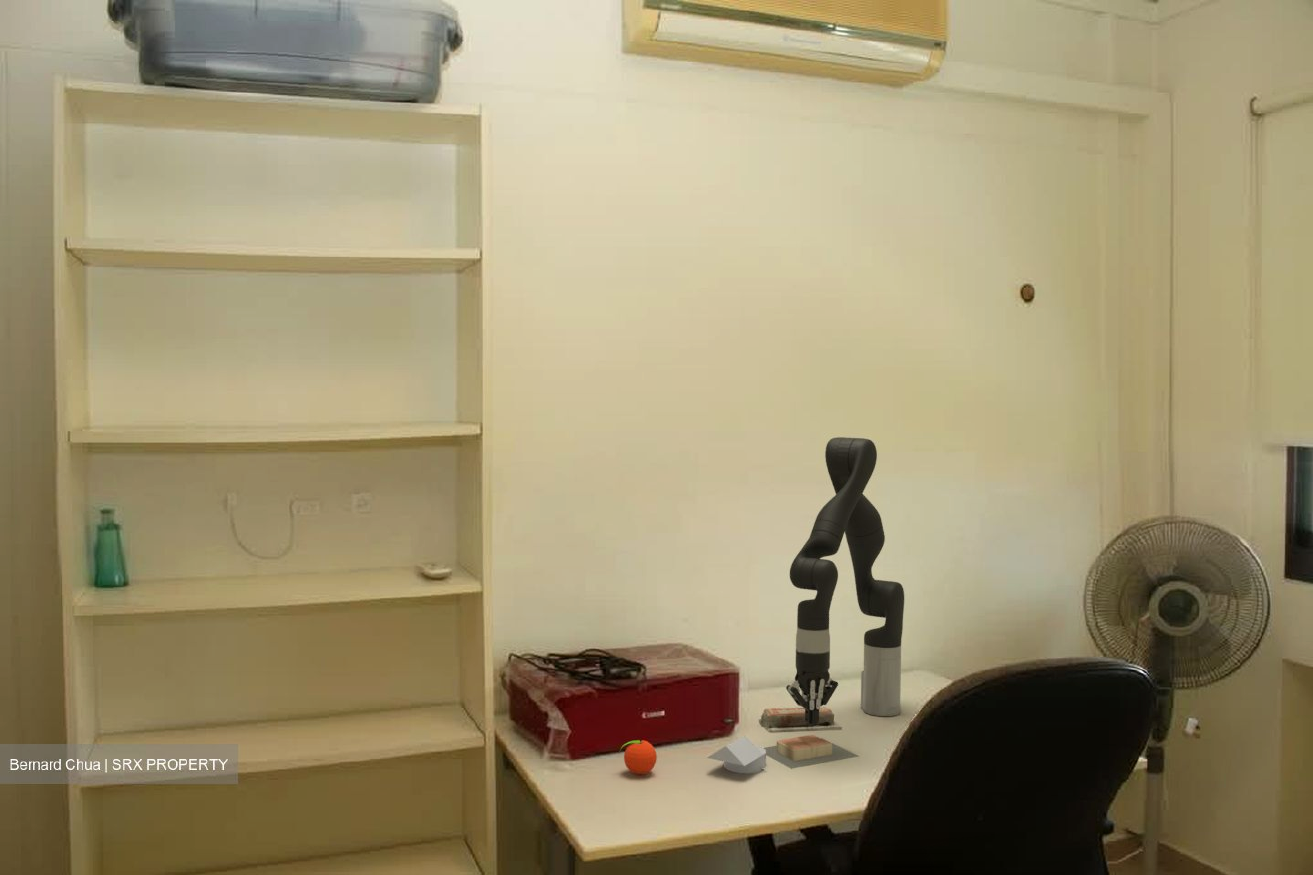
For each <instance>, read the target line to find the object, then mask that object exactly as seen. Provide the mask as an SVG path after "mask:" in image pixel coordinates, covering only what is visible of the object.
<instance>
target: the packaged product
mask: <svg viewBox="0 0 1313 875" xmlns="http://www.w3.org/2000/svg"><path fill="white" fill-rule="evenodd" d="M760 717H761V718H760V719H758V721H759V724H760V725H761V727H762V726H763V727H762V728H765V730H766V732H768V733H790V732H791V733H792V732H793V733H795V732H819V731H841V730H842V728H843V726H841V725H840V724H839V723H837V722H836V721H835V713H834V712H833V710H832V709H831V708H826V707H820V709H819V722H818V723H817V725H816V726H809V725H807V723H806V722H805V708H803V707H781V708H779V707H778V708H776V707H775V708H764V709H763V712H762V714H761V716H760Z"/></svg>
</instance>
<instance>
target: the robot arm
mask: <svg viewBox="0 0 1313 875" xmlns="http://www.w3.org/2000/svg"><path fill="white" fill-rule="evenodd" d="M877 452H878V451H877V448H876V444H875V443H874V442H873V440H871V439H869V438H864V437H863V438H861V437H845V436H844V437H839V436H838V437H833V438H830V440H829V441H828V442H827V443H826V446H825V452H824V453H825V456H824V457H825V463H826V464H825V465H826V468H827V473H828V475H829V479H830V481H831V483H832V487H833V489H834V492H835V495H834V496H832V498H830V499H829V501H827V503H825V504H824V506H823V507H822V508H821V509H820V511H819V512H818V514H817V515H816V517H815V521H814V523H813V526H812V530H811V532H810V534H809V538H807V541H806V542H805V543H804V545H803V546H802V548H801V549H800V550H799V551H798V553H797V554H796V556H795V557H794V559H793V561H792V563H791V565H790V568H789V579H790V583H792V585H793V586H794V587H795V588H797V589H802V590H809V591H816V595H815V597H814V598H813V599H812V598H811V599H805V600H801V601H800V602H798V605H797V615H796V617H797V618H796V619H797V620H796V622H797V623H796V624H797V625H796V635H795V670H796V674H795V677H794V681H793V682H792V683H791V685H790V684H787V685H786V687H785V688H786V689H785V690H786V691H787V692H788V694H789V695H790V696H791V698H792V699H793V701H794V702H795V704H796V705H797V706H799V707H800V708H805V722H806V723H807V725H809V726H816V725H817V723H818V722H819V709H820V708H822V706H826V705H827V704H828V703H829V701H830V699H831V698H832V696H833V694H834V693H835V691H836V689H837V688H838V686H839V683H838V681H836V680H834V679H832V678H831V675H830V673H829V670H830V667H831V666H830V664H831V662H830V661H831V659H830V658H831V636H830V635H831V634H830V609H831V604H832V601H833V596H834V595H835V594H834V592H835V590H836V587H837V583H838V578H839V571H838V567H837V566H836V564H835V563H834V561H833V560H830V559H824V558H825V557H831V556H834V555H836V554H837V553H838V551H839V550H840V547H841V545H842V544H841V543H842V541H843V537H844V534H845V538H846V543H847V546H848V550H849V555H850V559H851V563H852V568H853V573H854V574H853V575H854V581H855V591H856V598H857V603H858V607H859V610H860V612H861V613H862V614H863V615H866V616H869V617H875V618H883V619H884V620H885V621H884V625H882V626H879V627H876V628H872V629H869V630H866V631H865V633H864V634H863V670H862V671H861V673H860V674H861V678H860V682H861V684H860V708H861V709H862V711H863V712H864V713H866V714H868V715H871V716H877V717H893V716H897V715H899V714H900V713H901V694H902V693H901V692H902V691H901V690H902V688H901V685H902V684H901V682H902V681H901V680H902V639H903V638H902V636H903V629H904V628H903V627H904V610H905V590H904V587H903V585H902V584H901V583H900V582H897V581H892V580H882V579H875V578H874V576H873V572H872V571H873V570H872V568H873V566H874V563H875V562H876V560H877V558H878V556H879V555H880V553H881V551H882V549H883V547H884V544H885V542H886V537H885V532H884V531H885V530H884V526H883V521H882V517H881V514H880V513H879V511H878V509H877V508H876V507H875V505H874V504H873V503H872V502H871V501H870V500H869V499H868V497H866V496H865V495H864V491H865V489H866V487H867V485H868V483H869V481H870V479H871V477H872V475H873V473H874V471H875V468H876V465H877V460H878V453H877ZM800 692H801V693H800Z"/></svg>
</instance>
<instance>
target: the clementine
mask: <svg viewBox="0 0 1313 875" xmlns="http://www.w3.org/2000/svg"><path fill="white" fill-rule="evenodd" d="M628 744H629V745H628ZM626 745H628V746H627V747H626V748H625V751H624V755H623V760H624V764H625V767H626V769H628V770H629V771H630V772H631V773H632V774H636V775H646V774H648V773H649V772H651V771H652V770H653V769H654V768H655V765H656V763H657V759H658V756H657V752H656V751H657V750H656V749H655V747H654V746H653V744H651V743H650V742H649V741H647V740H641V739H639V740H631V741H628V742H627V743H626V742H625V743H624V744H623V745H622V746H621V748H620V750H619V753H620V752H621V750H622V748H623V747H625V746H626Z"/></svg>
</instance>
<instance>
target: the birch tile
mask: <svg viewBox="0 0 1313 875" xmlns="http://www.w3.org/2000/svg"><path fill="white" fill-rule="evenodd" d="M821 738H822V737H819V736H816V735H814V734H809V735H804V736H803V735H802V736H797V737H796V736H795V737H791V738H785V739H779V740H776V746H777V752H778V753H780V754H782V755H784V756H786V757H787V758H789V759H791V760H793V761H798V760H804V759H810V758H815V757H821V756H826V755H832V743H833V742H831V743H829V742H830V741H829V742H827V741H828V740H827V741H825V740H826V739H825V740H823V739H824V738H823V739H821Z"/></svg>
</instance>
